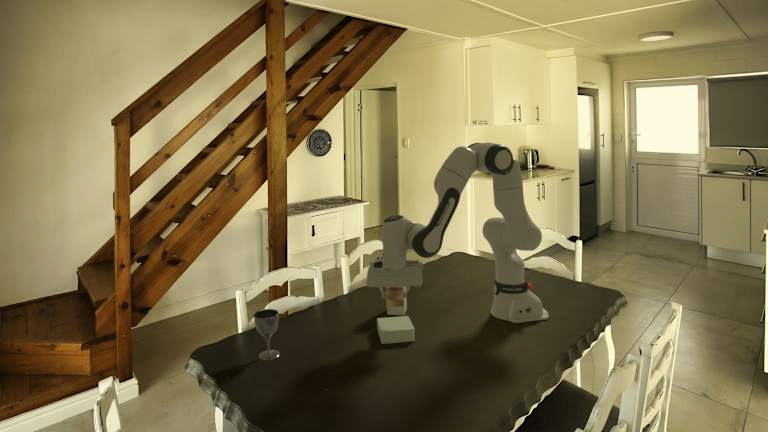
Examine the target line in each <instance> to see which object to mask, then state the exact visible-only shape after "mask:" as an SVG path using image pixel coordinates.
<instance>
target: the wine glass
mask: <svg viewBox="0 0 768 432" xmlns="http://www.w3.org/2000/svg"><path fill="white" fill-rule="evenodd" d="M253 318H254V319H253V320H254V326H255V329H256V332H257V333H259V334H260V335H261V336H263V338H264V339H265V341H266V345H267V348H266V349H267V350H263V351H261V352H260V353H259V354H258V359H259V360H262V361H271V360H274V359H276V358H278V357H279V356H280V355H281V354H280V353H281V352H280V351H278V350H276V349H271V348H270V345H271V342H270V341H271V338H272V336H273V335H274V333H276V331H277V329H278V327H279V310H277V309H272V308H268V309H267V308H266V309H265V308H264V309H261V310H258V311H256V312H254V314H253Z"/></svg>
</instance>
